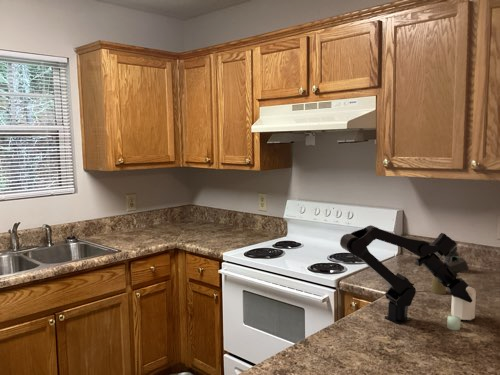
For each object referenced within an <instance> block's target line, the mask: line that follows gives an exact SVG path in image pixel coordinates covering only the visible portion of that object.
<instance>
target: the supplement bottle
mask: <svg viewBox="0 0 500 375" xmlns="http://www.w3.org/2000/svg"><path fill="white" fill-rule="evenodd" d="M452 256H455V257H457V258H458V259H459V258H460V253H459V252H458V245H457V246H456V247H455V248H454V249H453V250H452V251H451V252H450V253H449V254H448V255H447V256H446V257H444V256H443V262H445V263H446V264H447V263H449V261H450V257H452Z"/></svg>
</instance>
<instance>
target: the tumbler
mask: <svg viewBox="0 0 500 375" xmlns="http://www.w3.org/2000/svg"><path fill="white" fill-rule="evenodd" d="M466 291H467V292H468V294H469V296H470V297H471V299H472V300H473V301H472V302H471V303H470V302H467V301H465V300H463V299H460V298H458V297H453V296H452V295H451V303H450V304H451V308H450V314H451V316H457V317H460V318H461V320H463V321H466V320H467V321H472V320H474V319H475V317H476V299H477V292H476V289H475V288H473V287H471V286H469V285H468V287H467V288H466Z"/></svg>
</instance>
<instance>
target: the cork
mask: <svg viewBox="0 0 500 375" xmlns="http://www.w3.org/2000/svg"><path fill="white" fill-rule="evenodd" d="M430 292H431V293H433V294H436V295H446V294H447V287H445V286H443V285H442V283H440V282H439V281H438V280H437V279H436V278H435V276H434V275H433V277H432V282H431V287H430Z"/></svg>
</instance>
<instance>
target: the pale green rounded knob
mask: <svg viewBox="0 0 500 375" xmlns="http://www.w3.org/2000/svg"><path fill="white" fill-rule="evenodd" d="M446 320H447V321H446V327H447V329H449V330H451V331H459V330H461V320H462V319H461V318H460V317H457V316H452V315H448V316H447V319H446Z"/></svg>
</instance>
